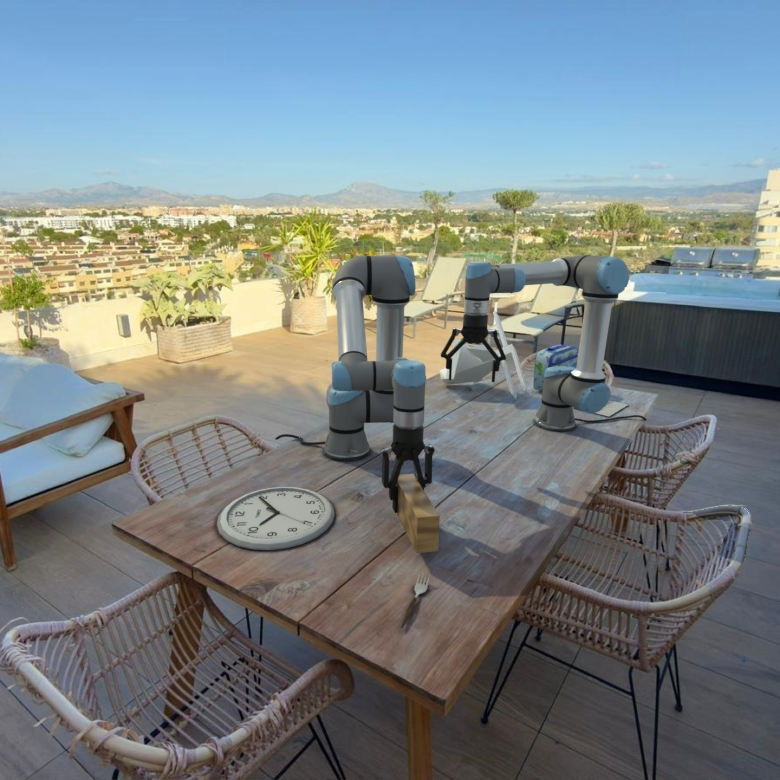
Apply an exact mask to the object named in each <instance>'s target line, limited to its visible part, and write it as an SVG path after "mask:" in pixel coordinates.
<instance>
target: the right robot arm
mask: <svg viewBox="0 0 780 780" xmlns="http://www.w3.org/2000/svg"><path fill="white" fill-rule="evenodd" d="M464 278H465V282H464V300H463V312H464V313H463V314H462V316H463V318H462V328H460V329H459V328H456V327H453V328H452V331H451V335H450V337H449V338H448V340H447V342H446V343H445V345H444V347H443V349H442V350H441V352H440V357H441V358H443V359H445V368H446V369H449V380H451V374H452V358H451V357H452V356H453V355H454V354H455V353H456V352H457V351H458V350H459V349H460V348H461V347H462V346H463V345H464V344H465V343H466V344H468V345H469V344H470V345H472V344H475V345H481V344H482V345H484V346H485V347H486V348H487V350H488V351H489V352H490V353H491V355H492V356H493V357H494V359H495V360H493V368H492V372H491V383H495V381H496V372H499V371H500V366H501V365H500V361H502V360H506V356H505V354H504V352H503V349H502V348H503V346H502V344H501V341H500V340H499V338H498V329H496V328H494V329H492V330H490V329H488V323H489V315H488V313H489V309H490V295H491V294H514V293H519V292H522V290H524V288H525V286H536V285H550V284H552V285H554V286H556V287H561V286H563V287H570V288H574V289H575V288H576V289H581V290H582V291H581V297H582V299H583V300H584V301H585V304H584V311H583V317H582V324H581V332H580V338H579V339H580V340H579V346H578V357H577V366H576V368H574V367H567V366H556V367H549V368H547V369H546V370H545V374H544V380H543V391H541V402H540V405H539V407H538V410H537V411H536V413H535V416H534V424H535V425H536V426H537V427H539V428H542V429H544V430H549V431H556V432H567V431H572V430H574V429H575V428H576V421H577V422H583V423H602V422H610V421H615V420H620V419H631V418H640V419H643V420H644V421H648V419H647V418H646V417H645V416H643V415H639V414H632V415H625V416H624V415H623V416H615V417H611V418H605V419H594V420H593V419H590V420H589V419H581V418H577V417H576V416H575V413H574V409H575V410H579V412H583V413H587V414H596V412H598V411H600V410H602V408H603V407H605V406H606V404H607V403H608V401H609V400H610V399H611V394H612V393H611V389H610V387H609V385H608V384H606V374H605V373H604V371H603V366H604V359H605V352H606V346H607V341H608V333H609V327H610V321H611V315H612V309H613V304H614V302H616V301H617V300H618V299H619V296H620V295H619V294H622V293H623V292H624V291H625V290H626V289H625V288H627V287H628V284H629V281H630V270H629V267H628V265H627V264H626V262H625V261H624V260H623V259H622V258H618V257H616V256H615V257H614V256H609V255H605V256H604V255H590V254H580V255H573V256H565V257H558V258H554V259H553V260H552V261H537V262H535V261H534V262H518V263H501V264H500V263H499V264H492V263H491V262H490V261H470V262H468V263H467V264H466V268H465V276H464ZM459 334H460V335H461V336H462V338H460V339H461V341H460V342H459V343H458V344H457V345H456V346H455V347H454V348H453V347H452V348H453V349H451V350H450V351H449V349H450V348H451V346H452V345H453V343H454V339H456V337H458V336H459ZM489 335H490V337H491V338H493V341H494V343H495V345H496V348H497V350H499V353H500V355H501V356H498V355H497V354H496V353H495V351H494V350H495V349H493V347H492V346H491V344H489V341H487V340H486V338H487V337H488V336H489ZM448 351H449V352H448ZM447 352H448V353H447ZM499 365H500V366H499Z"/></svg>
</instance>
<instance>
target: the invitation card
mask: <svg viewBox="0 0 780 780" xmlns="http://www.w3.org/2000/svg"><path fill="white" fill-rule="evenodd" d="M628 406H629V404H627V403H623V402H618V401H614V400H610V399H609V401H608V403H607V404H606V406H605V407H603V408H602V410H600V411H598V412H596V413H595V414H596V415H600V416H604V417H608V418H609V417H611V416H613V415H614V414H616V413H617V412H619V411H621V410H623V409H624V408H626V407H628Z"/></svg>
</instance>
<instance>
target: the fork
mask: <svg viewBox="0 0 780 780" xmlns="http://www.w3.org/2000/svg"><path fill="white" fill-rule="evenodd" d="M421 572H422V571H421V570H420V571H419V574H418V577H417V580H416V583H415V585H414V592H415V596H413V597H414V598H413V599H412V600H411V601H410V603H409V605H408V607H407V608H406V611H405V614H404V618H403V620H402V624H401V625H400V628H401V629H403V628H404V627H405V625H406V623H407V621H408V620H409V617H410V616H411V615H412V613H413V611H414V609H415V606H416V603H417V599H418V597H419V596H420V595H423V594H425V593H426V592H427V590H428V587H429V582H430V577H431V574H429V575H428V572H426V573H425V571H423V573H422V575H421ZM424 574H425V577H424ZM427 576H428V578H427ZM423 579H424V580H423ZM426 580H427V581H426Z"/></svg>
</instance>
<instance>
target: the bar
mask: <svg viewBox="0 0 780 780" xmlns="http://www.w3.org/2000/svg"><path fill="white" fill-rule="evenodd" d="M396 487H397V488H398V513H396V514H397V516H398V519H399V521H400V523H401V524H402V527H403V529H404V531H405V533H406V535H407V537H408V539H409V541H410V543H411V545H412V547H413V550H414V551H415V553H416V554H422V553H430V552H431V553H432V552H438V551H439V540H440V539H439V537H440V514H439V512H438V511H437V509H436V507H435V506H434V504H433V503H432V501H431V499H430V498H429V496H428V495H427V493H426V491H425V489H424V490H423V488H422V487H421V485H420V484H419V482H418V480H417V476H416V475H415V474H414V473H413V472H412V473H402V474H401V473H400V474H399V478H398V481H397V484H396Z"/></svg>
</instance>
